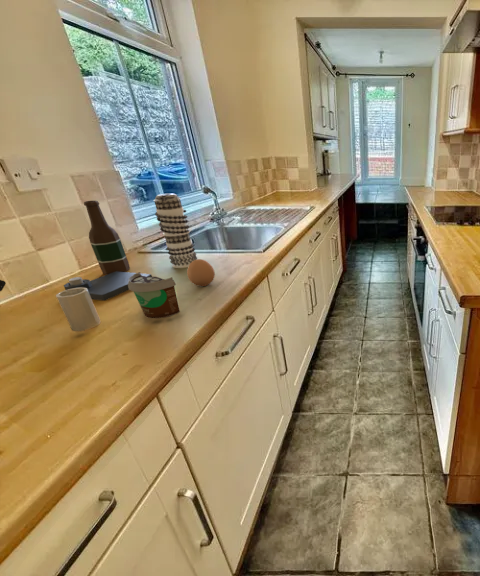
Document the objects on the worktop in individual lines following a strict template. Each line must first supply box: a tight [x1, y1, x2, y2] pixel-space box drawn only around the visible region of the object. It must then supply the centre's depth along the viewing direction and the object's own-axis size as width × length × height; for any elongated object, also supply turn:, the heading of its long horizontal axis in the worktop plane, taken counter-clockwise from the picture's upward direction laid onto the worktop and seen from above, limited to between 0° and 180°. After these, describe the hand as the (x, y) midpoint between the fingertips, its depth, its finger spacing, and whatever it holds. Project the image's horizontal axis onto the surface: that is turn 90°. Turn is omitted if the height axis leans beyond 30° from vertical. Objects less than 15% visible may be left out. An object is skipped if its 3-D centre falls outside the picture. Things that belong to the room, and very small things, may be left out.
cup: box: [55, 287, 102, 332], centre depth 75 cm, size 5×5×9 cm
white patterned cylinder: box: [152, 193, 198, 269], centre depth 112 cm, size 9×9×25 cm
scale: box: [63, 271, 153, 301], centre depth 97 cm, size 14×16×4 cm
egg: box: [186, 258, 216, 287], centre depth 98 cm, size 7×7×8 cm
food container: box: [128, 272, 181, 319], centre depth 80 cm, size 12×6×10 cm, turn 71°
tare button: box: [68, 276, 84, 285], centre depth 92 cm, size 3×3×2 cm
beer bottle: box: [83, 200, 131, 275], centre depth 106 cm, size 8×8×24 cm
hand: (0, 286), depth 62 cm, fingers closed
